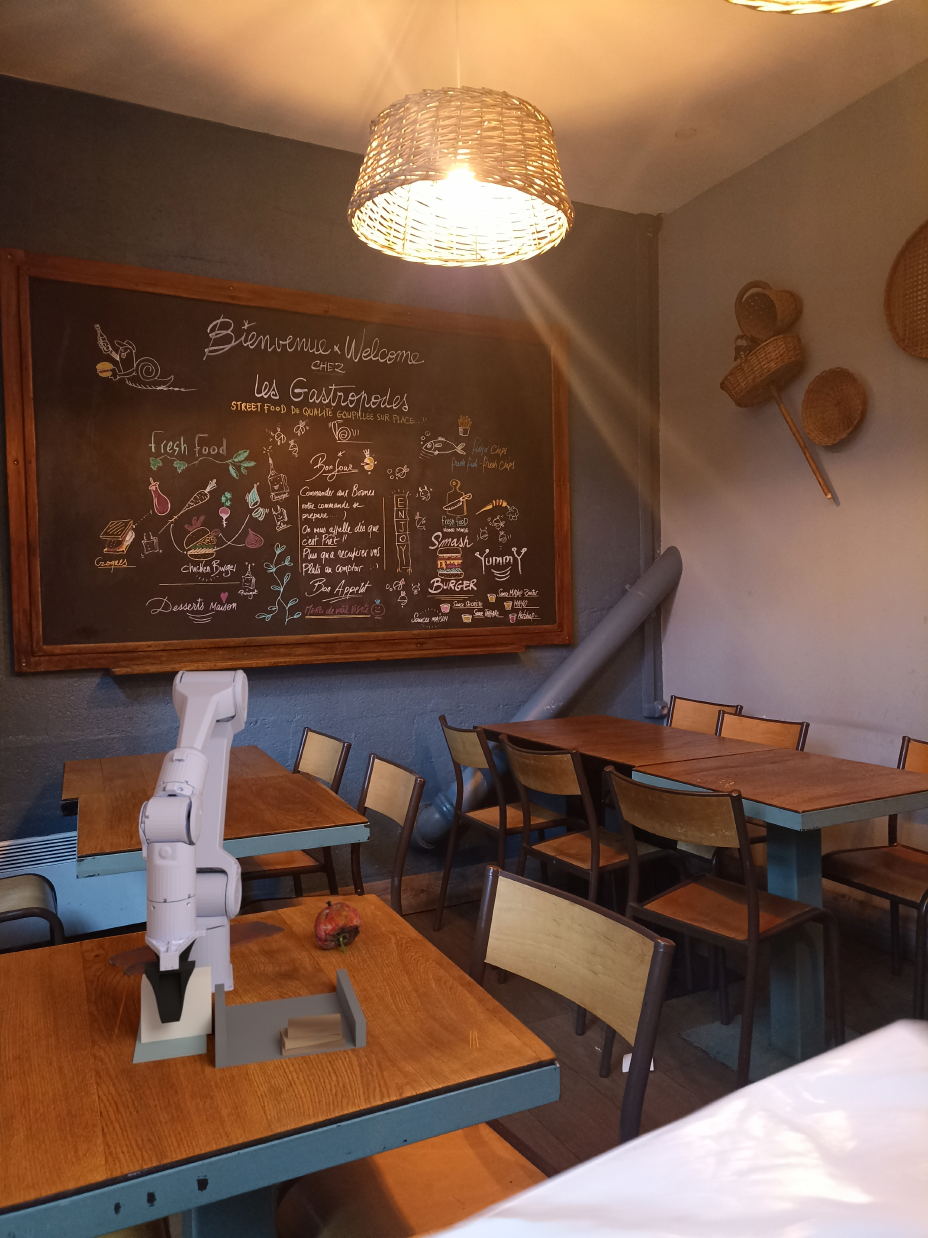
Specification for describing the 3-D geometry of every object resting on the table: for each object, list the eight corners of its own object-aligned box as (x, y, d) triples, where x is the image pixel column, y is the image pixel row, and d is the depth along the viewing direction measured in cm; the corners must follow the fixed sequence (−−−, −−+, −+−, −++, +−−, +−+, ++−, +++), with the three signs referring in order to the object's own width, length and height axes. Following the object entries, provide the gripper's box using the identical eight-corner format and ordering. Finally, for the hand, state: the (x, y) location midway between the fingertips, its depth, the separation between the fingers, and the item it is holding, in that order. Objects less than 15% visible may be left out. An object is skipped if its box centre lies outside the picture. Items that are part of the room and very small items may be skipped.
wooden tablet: (134, 985, 121) (134, 973, 121) (104, 965, 128) (104, 954, 128) (293, 935, 140) (293, 925, 140) (259, 921, 147) (259, 911, 147)
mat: (140, 1021, 109) (140, 1016, 109) (206, 1012, 111) (206, 1008, 111) (132, 1067, 97) (132, 1062, 97) (206, 1057, 99) (206, 1052, 99)
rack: (214, 1011, 111) (214, 984, 111) (345, 994, 116) (345, 968, 116) (215, 1073, 96) (215, 1041, 96) (366, 1050, 101) (365, 1020, 101)
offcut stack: (279, 1040, 102) (279, 1020, 102) (340, 1031, 104) (339, 1011, 104) (282, 1057, 98) (282, 1036, 98) (345, 1048, 100) (345, 1027, 100)
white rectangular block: (143, 1031, 104) (142, 974, 105) (211, 1022, 107) (211, 966, 107) (141, 1043, 102) (141, 984, 102) (211, 1033, 104) (211, 975, 104)
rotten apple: (368, 964, 132) (355, 909, 140) (368, 937, 128) (356, 882, 135) (320, 975, 130) (310, 919, 138) (319, 948, 126) (308, 891, 133)
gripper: (205, 911, 98) (206, 1029, 98) (206, 875, 112) (206, 979, 112) (140, 917, 96) (140, 1038, 96) (149, 880, 110) (149, 986, 110)
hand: (172, 1007), depth 104 cm, fingers open, 7 cm apart
